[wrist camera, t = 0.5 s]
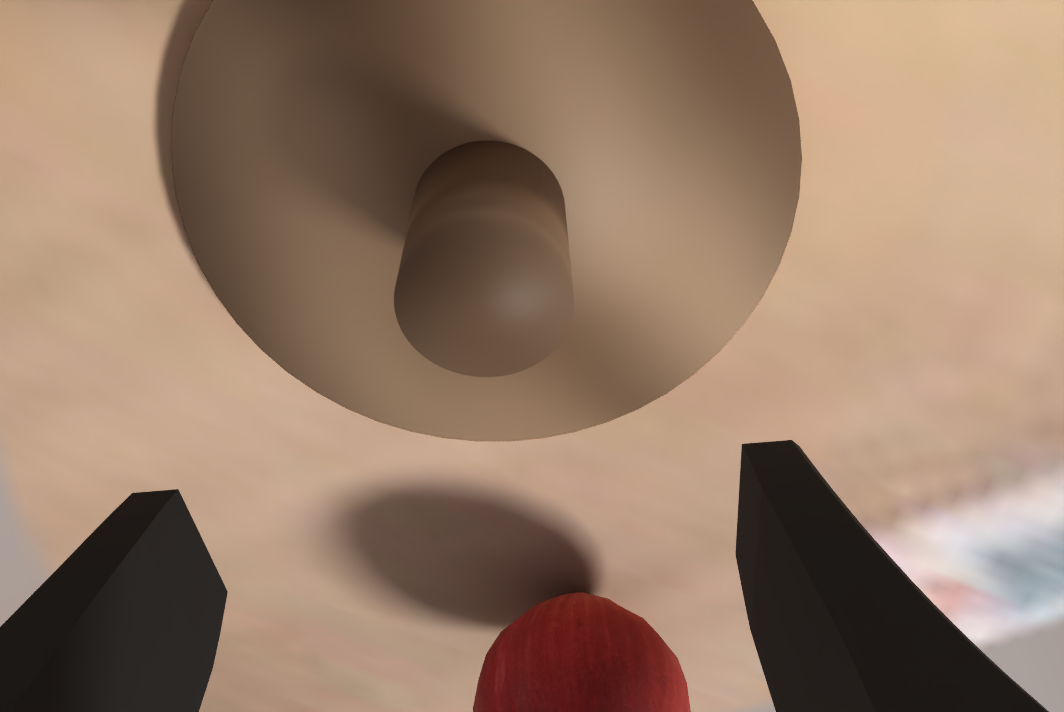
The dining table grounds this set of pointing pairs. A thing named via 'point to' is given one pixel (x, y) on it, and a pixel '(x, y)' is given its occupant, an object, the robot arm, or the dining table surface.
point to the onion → (580, 662)
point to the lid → (487, 198)
